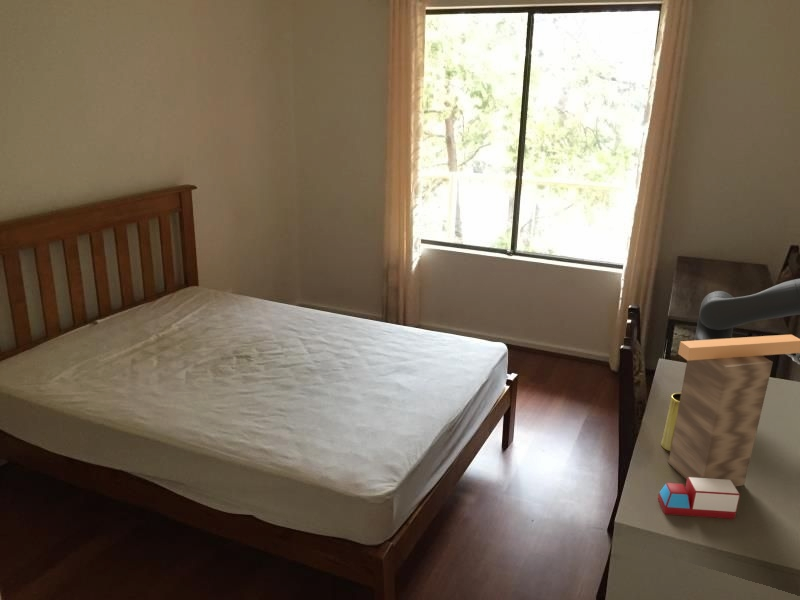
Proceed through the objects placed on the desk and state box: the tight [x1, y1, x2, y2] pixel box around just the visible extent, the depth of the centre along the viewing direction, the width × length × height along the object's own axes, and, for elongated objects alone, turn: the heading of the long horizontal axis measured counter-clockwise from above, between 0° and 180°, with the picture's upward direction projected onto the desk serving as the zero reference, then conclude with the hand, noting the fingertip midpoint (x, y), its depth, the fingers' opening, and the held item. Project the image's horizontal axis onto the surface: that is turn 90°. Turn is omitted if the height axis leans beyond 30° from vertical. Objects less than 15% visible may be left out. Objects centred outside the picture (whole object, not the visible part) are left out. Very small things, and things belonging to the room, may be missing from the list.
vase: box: [660, 392, 681, 452], centre depth 168 cm, size 6×6×14 cm
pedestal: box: [668, 355, 774, 487], centre depth 154 cm, size 12×12×32 cm
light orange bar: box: [677, 333, 800, 362], centre depth 148 cm, size 28×4×3 cm, turn 100°
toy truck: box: [657, 477, 741, 520], centre depth 146 cm, size 6×15×7 cm, turn 85°
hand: (794, 350), depth 153 cm, fingers open, 8 cm apart
